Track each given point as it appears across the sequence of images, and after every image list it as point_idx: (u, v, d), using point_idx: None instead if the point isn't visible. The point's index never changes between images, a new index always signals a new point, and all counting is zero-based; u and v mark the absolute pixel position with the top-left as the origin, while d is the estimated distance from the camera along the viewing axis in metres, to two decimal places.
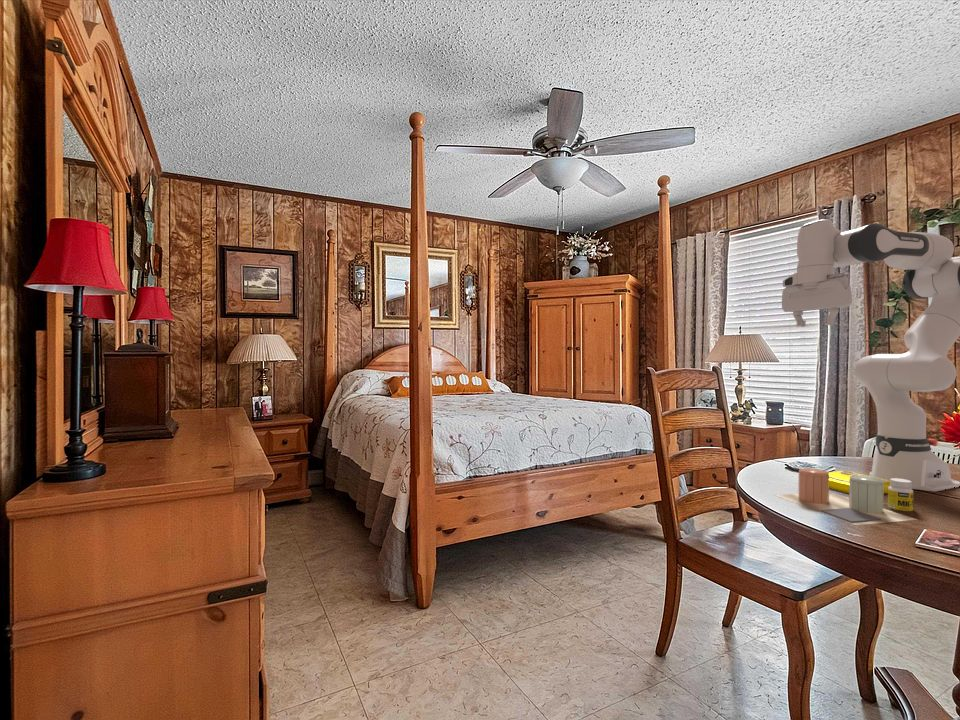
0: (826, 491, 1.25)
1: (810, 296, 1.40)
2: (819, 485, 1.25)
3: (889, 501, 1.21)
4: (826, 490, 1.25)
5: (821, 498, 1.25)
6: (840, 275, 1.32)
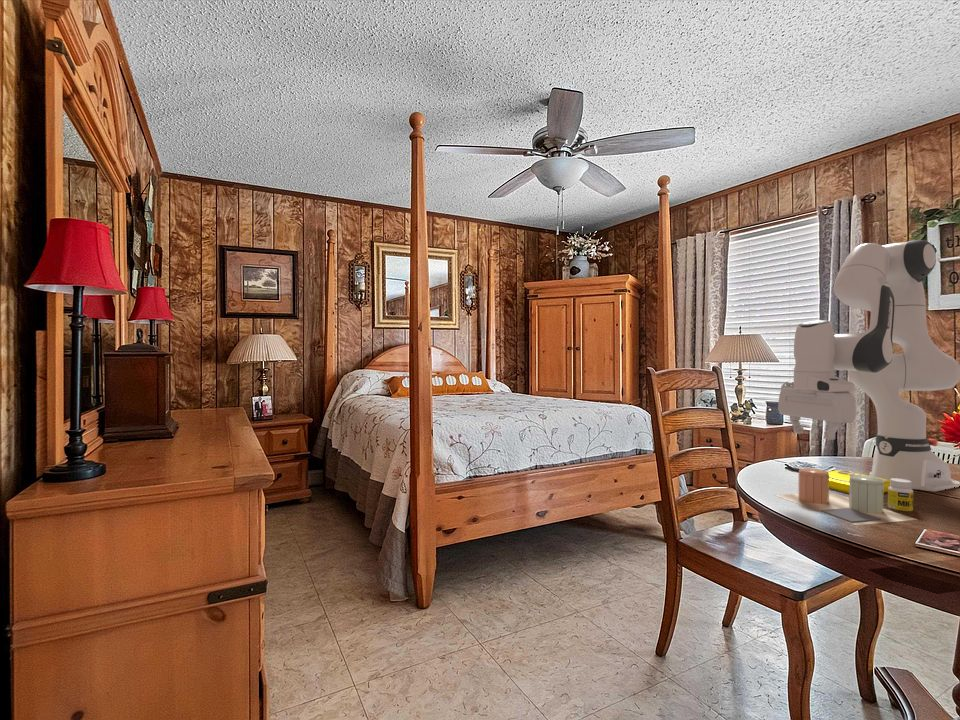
0: (826, 491, 1.25)
1: None
2: (819, 485, 1.25)
3: (889, 501, 1.21)
4: (826, 490, 1.25)
5: (821, 498, 1.25)
6: None
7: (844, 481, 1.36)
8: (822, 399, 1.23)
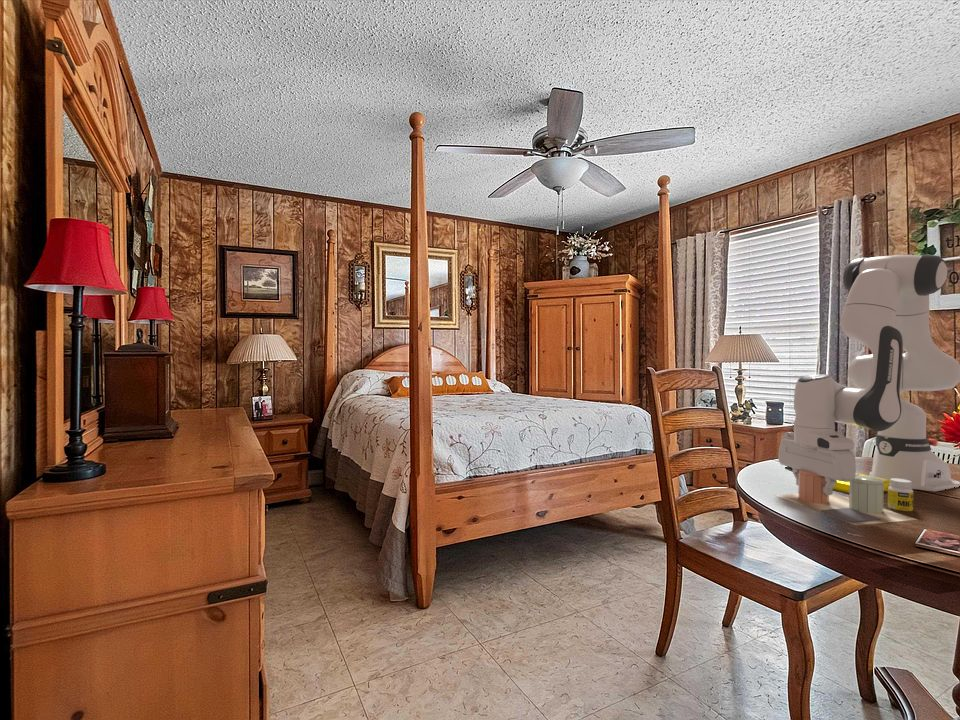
0: None
1: None
2: (819, 485, 1.25)
3: (889, 501, 1.21)
4: None
5: (821, 498, 1.25)
6: None
7: None
8: (822, 455, 1.23)
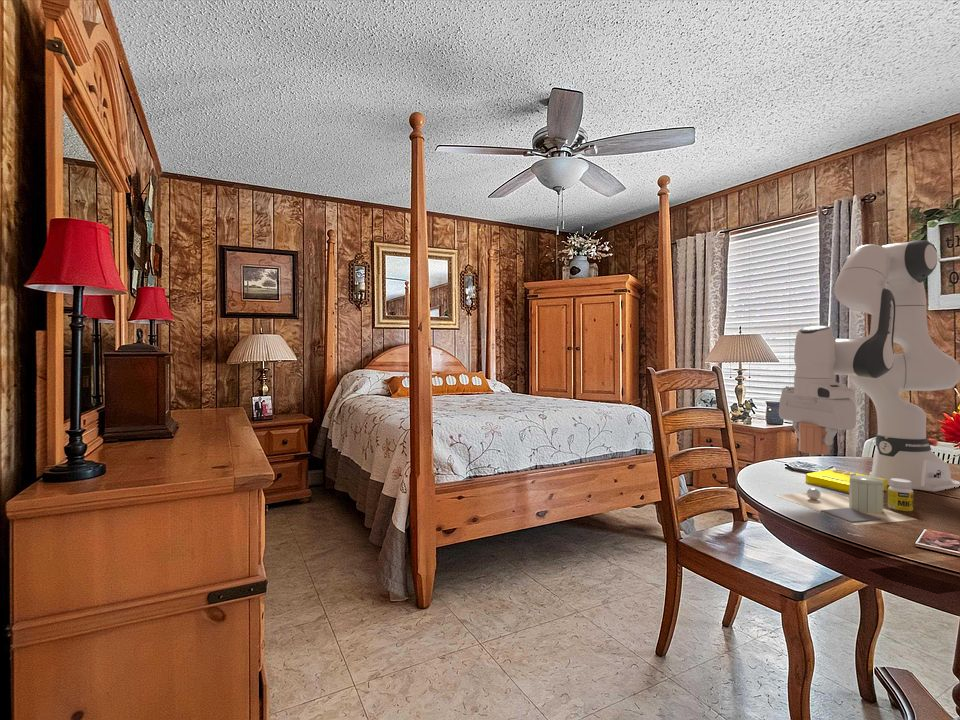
0: None
1: None
2: (819, 436, 1.24)
3: (889, 501, 1.21)
4: None
5: (821, 448, 1.24)
6: None
7: (840, 480, 1.37)
8: (823, 405, 1.23)
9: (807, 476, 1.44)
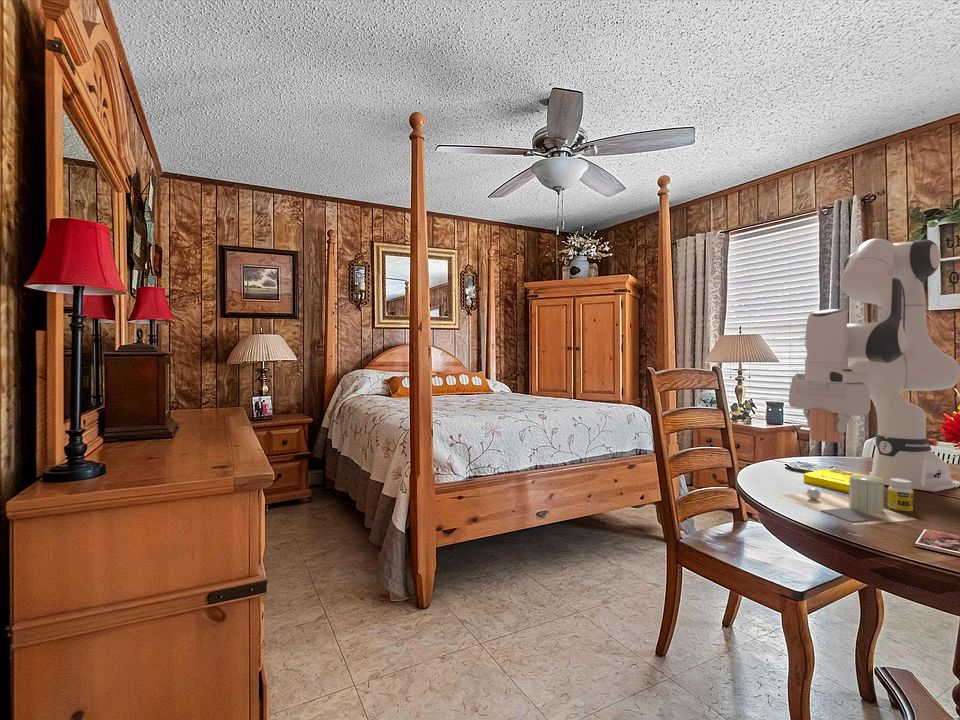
0: None
1: None
2: (831, 423, 1.19)
3: (889, 501, 1.21)
4: None
5: (834, 436, 1.19)
6: None
7: (839, 480, 1.37)
8: (835, 391, 1.18)
9: (805, 476, 1.44)
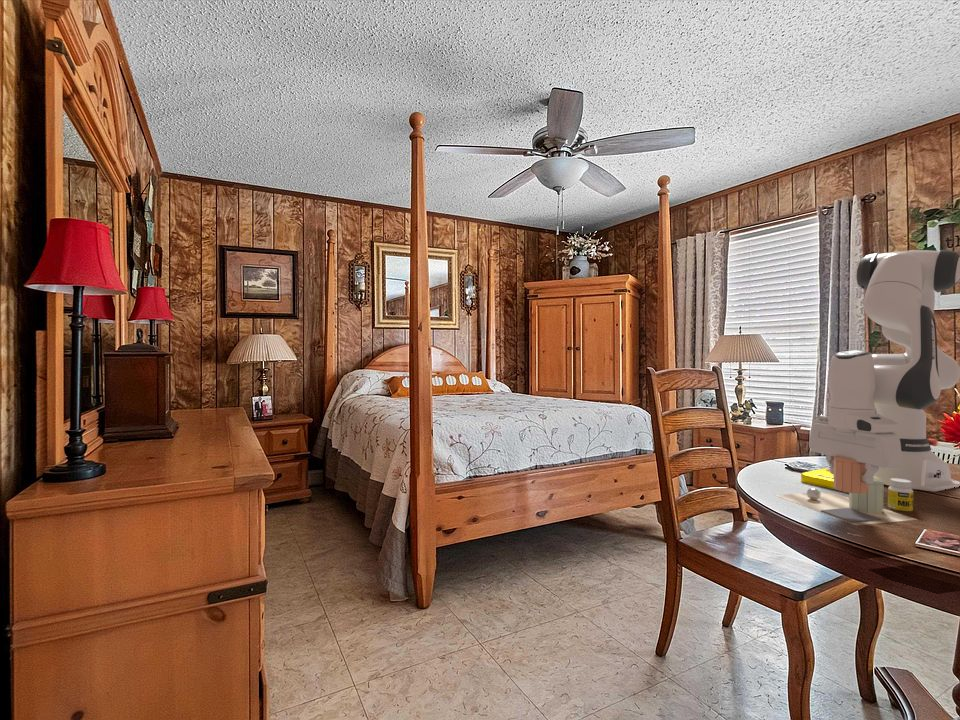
0: None
1: None
2: (858, 473, 1.12)
3: (889, 501, 1.21)
4: None
5: (860, 487, 1.12)
6: None
7: None
8: (862, 439, 1.11)
9: (803, 475, 1.45)
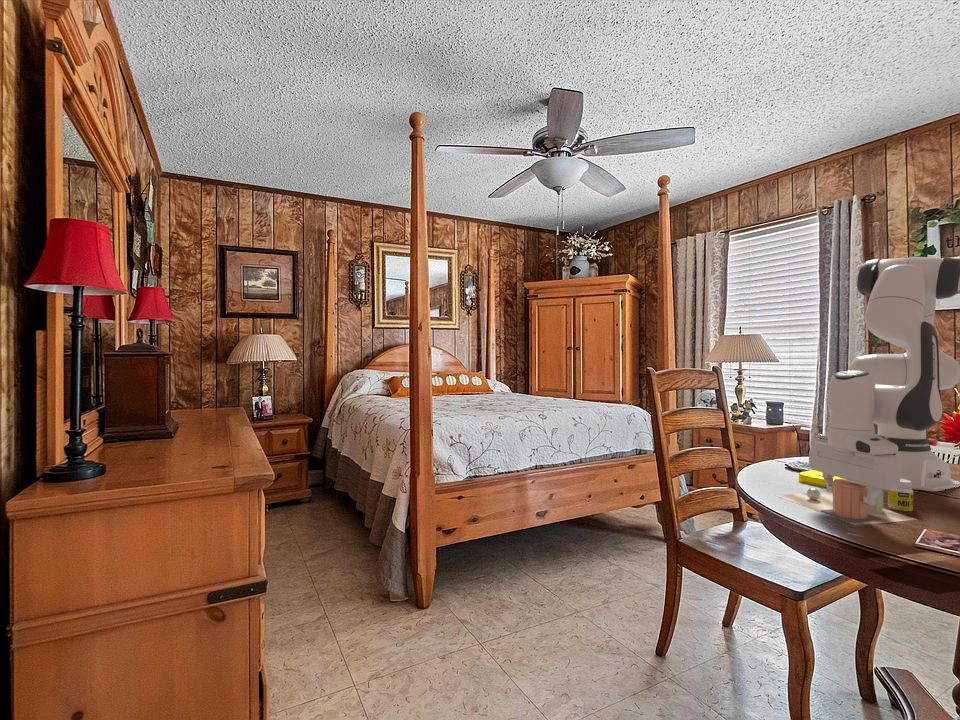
0: (865, 505, 1.13)
1: None
2: (857, 498, 1.12)
3: (889, 501, 1.21)
4: (865, 504, 1.13)
5: (859, 512, 1.12)
6: None
7: (834, 479, 1.38)
8: (861, 460, 1.11)
9: (800, 475, 1.45)
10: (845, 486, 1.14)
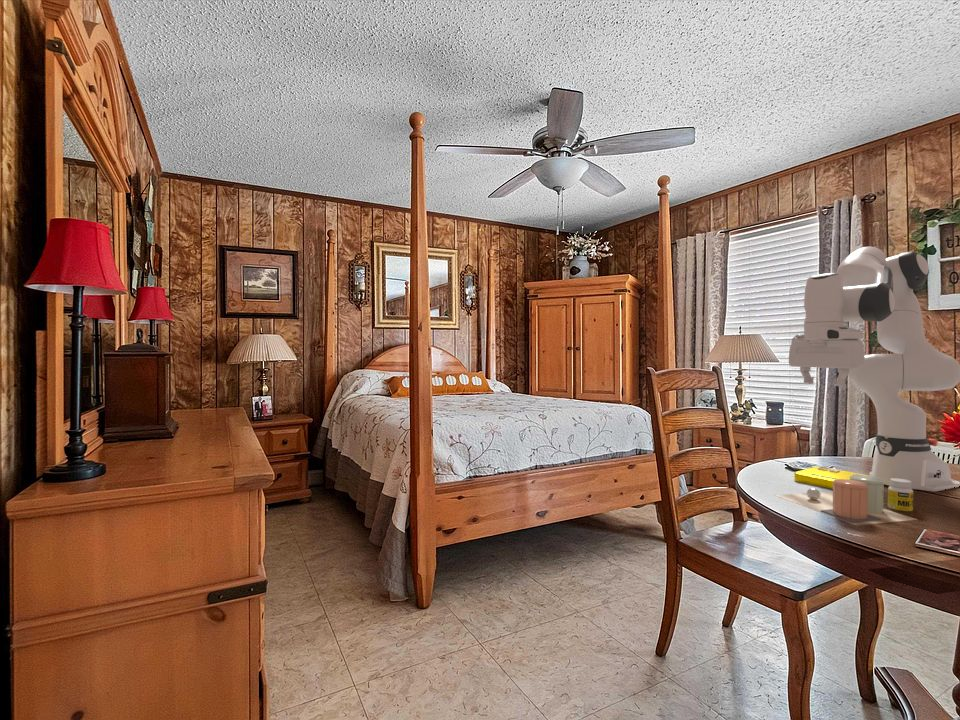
0: (865, 505, 1.13)
1: None
2: (857, 498, 1.12)
3: (889, 501, 1.21)
4: (865, 504, 1.13)
5: (859, 512, 1.12)
6: None
7: (830, 478, 1.39)
8: (832, 347, 1.28)
9: (796, 475, 1.46)
10: (845, 486, 1.14)
